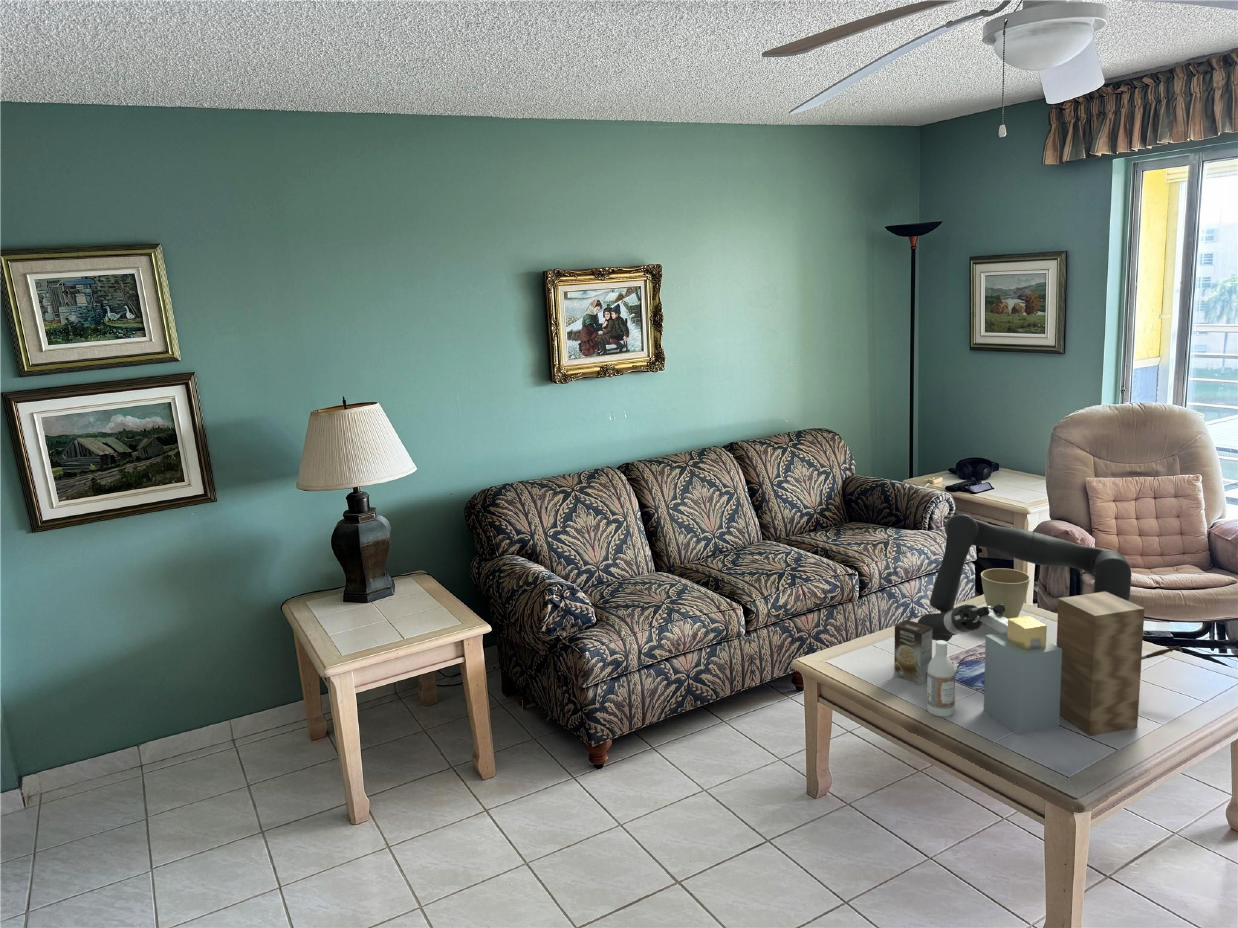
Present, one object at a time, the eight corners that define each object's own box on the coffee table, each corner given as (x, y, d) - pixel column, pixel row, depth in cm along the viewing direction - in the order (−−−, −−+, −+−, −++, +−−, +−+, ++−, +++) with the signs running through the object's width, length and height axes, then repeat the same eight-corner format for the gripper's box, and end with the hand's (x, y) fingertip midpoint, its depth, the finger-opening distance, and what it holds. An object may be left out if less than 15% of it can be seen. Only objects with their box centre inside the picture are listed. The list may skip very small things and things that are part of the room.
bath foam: (936, 719, 233) (937, 648, 229) (922, 707, 240) (922, 639, 236) (959, 715, 234) (960, 645, 230) (944, 703, 241) (945, 635, 237)
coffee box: (892, 675, 260) (892, 624, 256) (905, 669, 263) (905, 618, 260) (920, 685, 252) (920, 633, 249) (933, 678, 256) (933, 626, 253)
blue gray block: (1023, 703, 239) (1025, 628, 234) (1058, 727, 225) (1062, 648, 221) (983, 709, 236) (985, 635, 232) (1017, 734, 223) (1019, 655, 219)
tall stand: (1099, 704, 235) (1105, 591, 229) (1137, 727, 223) (1144, 608, 216) (1053, 712, 233) (1058, 598, 226) (1089, 735, 220) (1095, 615, 214)
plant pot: (973, 623, 294) (974, 578, 291) (988, 609, 305) (989, 565, 302) (1020, 632, 284) (1022, 585, 281) (1034, 617, 295) (1035, 572, 292)
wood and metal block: (990, 616, 244) (990, 595, 243) (1045, 647, 222) (1046, 625, 221) (970, 618, 243) (971, 598, 242) (1024, 650, 221) (1025, 628, 220)
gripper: (936, 609, 252) (967, 598, 236) (981, 603, 255) (1014, 591, 239) (943, 635, 250) (975, 626, 234) (988, 628, 253) (1023, 619, 237)
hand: (995, 608), depth 237 cm, fingers open, 4 cm apart
